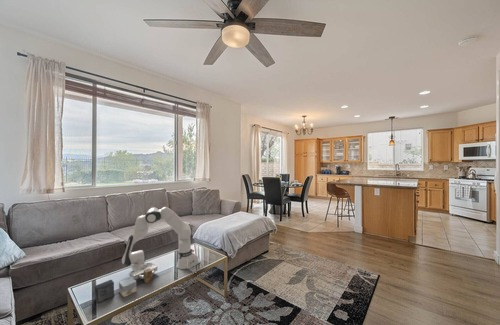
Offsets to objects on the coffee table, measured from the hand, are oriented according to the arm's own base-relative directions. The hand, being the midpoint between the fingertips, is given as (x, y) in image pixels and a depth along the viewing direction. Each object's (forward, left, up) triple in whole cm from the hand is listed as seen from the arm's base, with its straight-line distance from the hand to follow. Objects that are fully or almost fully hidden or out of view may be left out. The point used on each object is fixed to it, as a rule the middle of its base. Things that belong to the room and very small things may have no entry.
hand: (148, 275), depth 171 cm
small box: (+30, -3, -5) cm, 31 cm away
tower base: (+16, +2, -5) cm, 17 cm away
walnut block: (0, -1, -5) cm, 5 cm away
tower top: (+16, +2, -1) cm, 16 cm away
